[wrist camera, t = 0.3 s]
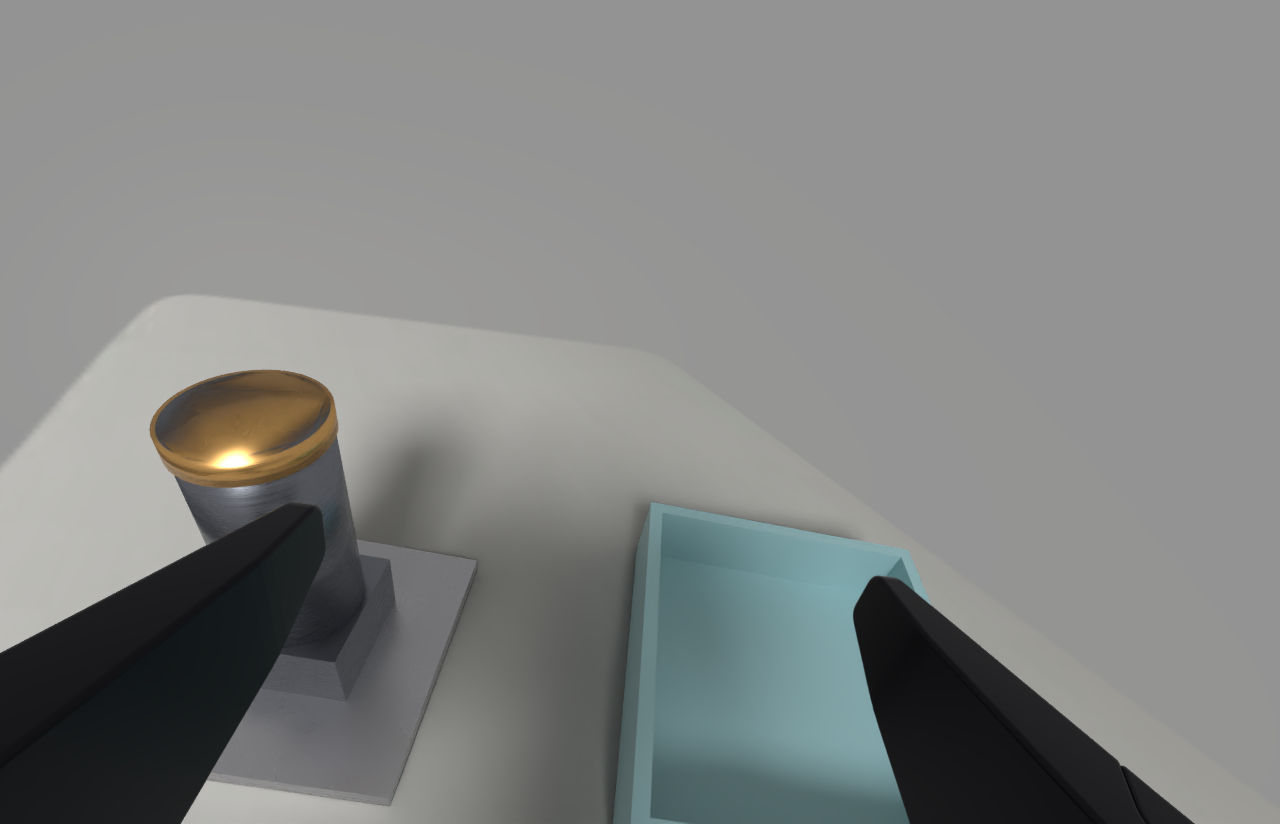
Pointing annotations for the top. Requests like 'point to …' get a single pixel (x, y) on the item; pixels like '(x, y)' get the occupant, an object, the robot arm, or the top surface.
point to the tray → (751, 677)
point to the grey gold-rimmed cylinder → (265, 480)
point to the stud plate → (359, 696)
